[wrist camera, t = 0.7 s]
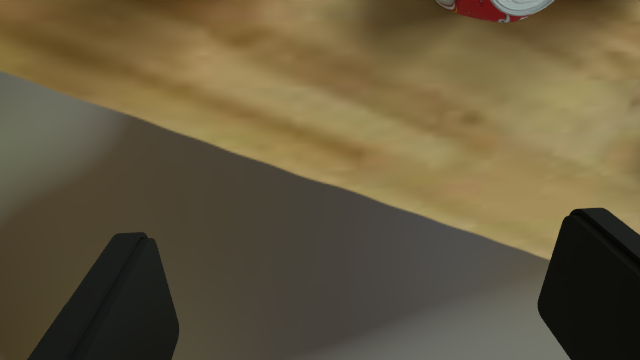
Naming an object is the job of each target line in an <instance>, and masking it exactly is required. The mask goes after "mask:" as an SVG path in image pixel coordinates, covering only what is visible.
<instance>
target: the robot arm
mask: <svg viewBox="0 0 640 360" xmlns="http://www.w3.org/2000/svg"><path fill="white" fill-rule="evenodd" d="M538 311H539V314H540V316H541V318H542V319H543V321H544V322H545V323H546V325H547V326H548V328H549V329H550V331H551V332H552V333H553V335H554V336H555V338H556V339H557V341H558V342H559V343H560V345H561V346H562V348H563V349H564V350H565V352H566V353H567V355H568V356H569V358H570V359H571V360H640V235H639V234H638V233H636V232H635V231H634V230H632V229H631V228H630V227H629V226H627V225H626V224H625V223H623V222H622V221H621V220H619V219H618V218H617V217H616V216H614V215H613V214H612V213H610V212H609V211H608V210H606V209H604V208H585V209H575V210H573V211H572V212H571V213H570V215H569V216H566V217H565V218H564V220H563V222H562V225H561V228H560V231H559V235H558V238H557V241H556V244H555V247H554V251H553V254H552V257H551V260H550V263H549V267H548V270H547V273H546V276H545V280H544V283H543V286H542V289H541V293H540V296H539V299H538ZM178 335H179V323H178V319H177V315H176V312H175V308H174V305H173V301H172V298H171V294H170V291H169V287H168V283H167V280H166V276H165V273H164V269H163V266H162V262H161V258H160V255H159V251H158V248H157V245H156V242H155V240H154V239H153V238H148V237H147V235H146V234H145V233H143V232H137V233H120V234H116V235H114V236H113V237H112V239H111V240H110V242H109V243H108V245H107V246H106V248H105V249H104V250H103V252H102V253H101V255H100V256H99V258H98V259H97V260H96V262H95V263H94V265H93V266H92V268H91V269H90V271H89V272H88V274H87V275H86V276H85V278H84V279H83V281H82V282H81V284H80V285H79V287H78V288H77V289H76V291H75V292H74V294H73V295H72V297H71V298H70V300H69V301H68V302H67V304H66V305H65V306H64V307H63V309H62V310H61V312H60V313H59V315H58V316H57V318H56V319H55V320H54V322H53V323H52V325H51V326H50V328H49V329H48V330H47V332H46V333H45V335H44V336H43V338H42V339H41V341H40V342H39V343H38V345H37V347H36V348H35V350H34V351H33V352H32V354H31V355H30V357H29V358H28V359H27V360H171V359H172V356H173V353H174V350H175V347H176V344H177V341H178Z"/></svg>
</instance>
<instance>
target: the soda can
mask: <svg viewBox="0 0 640 360" xmlns="http://www.w3.org/2000/svg"><path fill="white" fill-rule="evenodd" d="M553 1H554V0H436V2H437V3H438V4H440V5H441V6H442V7H444V8H445V9H447V10H449V11H451V12H453V13H457V14H460V15H464V16H468V17H472V18H477V19H481V20H486V21H493V22H503V23H505V22H514V21H518V20H522V19H524V18H527V17H529V16H531V15H532V14H534V13H536V12H538V11H540V10H542V9H544V8H546V7H547V6H548V5H550V4H551V3H552V2H553Z"/></svg>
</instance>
